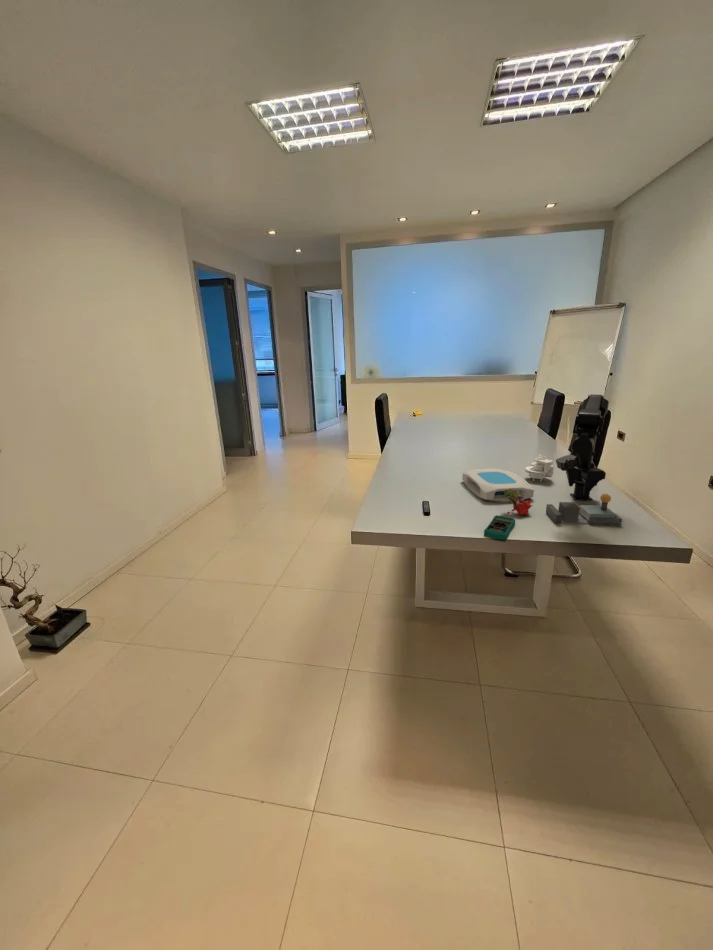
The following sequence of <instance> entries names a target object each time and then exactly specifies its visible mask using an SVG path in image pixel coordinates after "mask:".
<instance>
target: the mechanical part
mask: <svg viewBox="0 0 713 950" xmlns="http://www.w3.org/2000/svg"><path fill="white" fill-rule="evenodd" d="M529 464H530V465H529V466H526V467H525V472H526V473H527V474H528V477H529V479H530V480H531V479H532V482H534V481H535V479H540V481H539V482H541V483H542V481H544V479H545V478H552V477H553V475H554V469H555V467H554V465H553V464H554V460H552V459H547V456H546V455H542V454H538V455H537V456H536V457H535V458H534V461H532V462H530V463H529Z"/></svg>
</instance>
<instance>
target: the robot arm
mask: <svg viewBox="0 0 713 950" xmlns="http://www.w3.org/2000/svg"><path fill="white" fill-rule="evenodd" d="M582 402H583V403H582V407H581V410H580V411H579V412H578V414H576V415H575V420H574V425H573V429H572V434H576V437H575V440H574V441H573V442H572V446H571V448H572V449H571V451H570V453H569V454H567V455H563V456H561V457H558V458H556V459H555V463H556V467H557V469H559V470H561V471H564V472H565V473H566V477H567V484H568V486H569V487H573V486H574V489H573V493H570V494H569V496H571V497H572V498H573V499H575V500H576V501H593V500H594V499H593V497H591V495H590V494H591V491H592V490H593V489H594V487H597V485H598V483H599V482H600V481H602V480H605V479H606V475H607V473H606V472H605V470H603V469H600V468H598V467H597V466H596V464H595V463H594V461H593V460H594V456H597V452H596V451H595V448H596V443H597V436H600V434H601V433H603V428H604V427H603V426H604V422H605V419H604V418H605V416H606V415H607V414H608V410H609V403H610V401H609V400H607V399H606V398H605V395H603V394H588V395H587V398H585V399H584V400H583V401H582Z"/></svg>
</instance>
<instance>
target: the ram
mask: <svg viewBox="0 0 713 950" xmlns="http://www.w3.org/2000/svg"><path fill="white" fill-rule="evenodd" d="M599 499H600V501H601V505H593V504H592V505H589V504H587V505H586V504H581V505H580V506H579V507H580V512H579V513H580V514H581V515H583V516H584V517H585V518H586V519H587V520H588V521H589V520H590V518H615V514H616V513H615V512H614V511H612V510H611V509H610V508H609V507H608V506H609V505H608V504H609V503H610V502H611V500H612V497H611V495H609V493H603V494H601V495H600V498H599ZM608 508H609V509H610V510H611V511H610V510H609V509H608ZM613 512H614V513H615V514H614V513H613Z"/></svg>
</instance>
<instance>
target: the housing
mask: <svg viewBox="0 0 713 950" xmlns="http://www.w3.org/2000/svg"><path fill="white" fill-rule="evenodd" d="M579 509H580V506H579V505H578V504H577V503H575V502H573V501H559V504H558V509H557V510H558V511H559V512H560V513H561V514H562V519H563V520H578V515H579V512H580V511H579Z"/></svg>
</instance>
